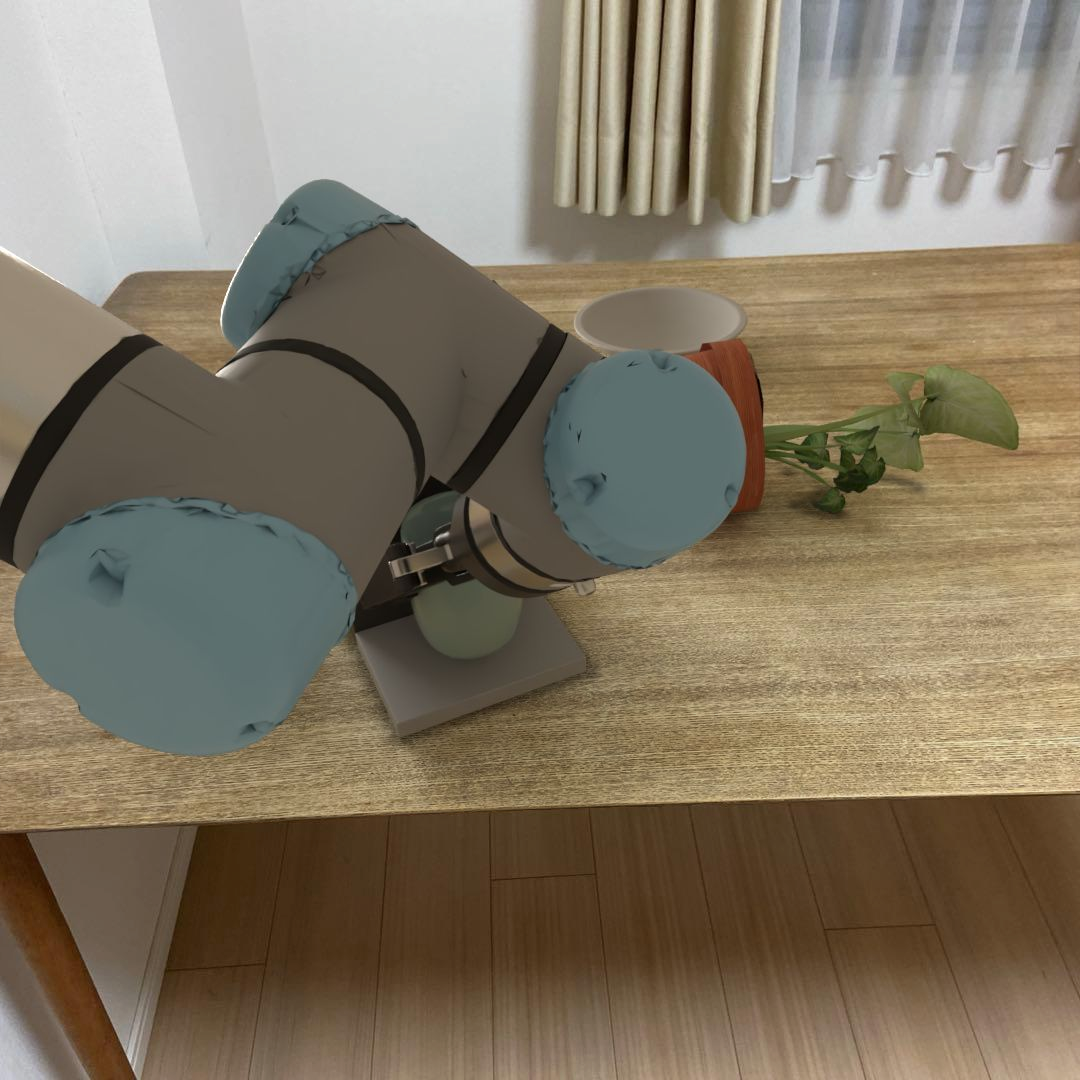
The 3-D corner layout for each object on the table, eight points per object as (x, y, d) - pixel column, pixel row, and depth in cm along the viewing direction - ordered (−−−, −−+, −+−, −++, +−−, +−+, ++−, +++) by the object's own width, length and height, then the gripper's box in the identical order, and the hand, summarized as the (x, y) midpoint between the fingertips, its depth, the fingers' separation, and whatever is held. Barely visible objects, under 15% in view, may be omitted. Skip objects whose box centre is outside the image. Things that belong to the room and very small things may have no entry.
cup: (507, 588, 75) (501, 478, 69) (540, 660, 69) (537, 548, 63) (403, 612, 73) (388, 502, 67) (429, 688, 68) (414, 576, 61)
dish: (716, 320, 112) (720, 278, 109) (763, 386, 101) (769, 342, 98) (560, 338, 110) (560, 295, 107) (591, 408, 99) (591, 363, 96)
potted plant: (601, 577, 83) (1034, 527, 82) (586, 413, 74) (1073, 355, 73) (585, 473, 95) (960, 429, 94) (570, 322, 86) (985, 272, 85)
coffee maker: (586, 671, 72) (591, 377, 57) (399, 739, 68) (349, 440, 53) (508, 556, 82) (494, 279, 67) (340, 609, 78) (283, 325, 62)
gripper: (361, 656, 46) (321, 666, 68) (743, 530, 53) (596, 576, 75) (311, 500, 47) (288, 559, 68) (698, 394, 53) (564, 479, 75)
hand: (448, 568), depth 71 cm, fingers closed on cup, 8 cm apart
